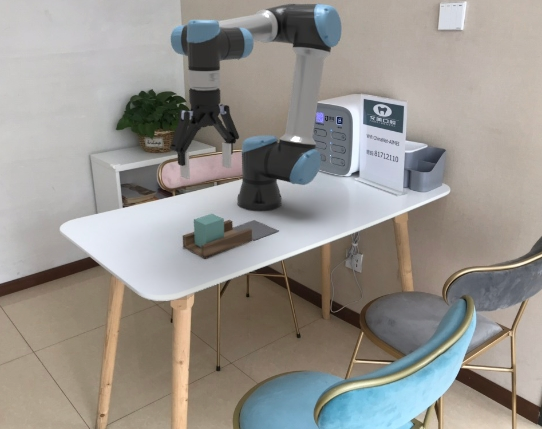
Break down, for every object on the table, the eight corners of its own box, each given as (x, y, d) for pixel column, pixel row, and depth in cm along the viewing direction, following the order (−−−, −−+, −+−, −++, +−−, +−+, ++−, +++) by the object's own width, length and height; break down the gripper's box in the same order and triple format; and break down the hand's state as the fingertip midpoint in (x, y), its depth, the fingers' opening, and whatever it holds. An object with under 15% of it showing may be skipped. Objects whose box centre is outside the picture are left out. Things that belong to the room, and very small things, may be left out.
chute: (183, 246, 151) (182, 235, 150) (229, 230, 162) (229, 219, 161) (205, 258, 144) (204, 247, 143) (251, 240, 155) (251, 229, 154)
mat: (229, 229, 163) (229, 228, 163) (254, 220, 169) (254, 219, 169) (254, 240, 155) (254, 239, 155) (278, 231, 162) (278, 230, 162)
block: (194, 244, 151) (193, 219, 148) (212, 237, 155) (212, 213, 152) (206, 250, 147) (205, 224, 144) (224, 243, 151) (223, 218, 148)
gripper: (171, 94, 119) (175, 186, 127) (252, 85, 135) (252, 166, 143) (151, 90, 124) (157, 178, 131) (233, 81, 140) (233, 160, 148)
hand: (206, 172), depth 137 cm, fingers open, 13 cm apart
